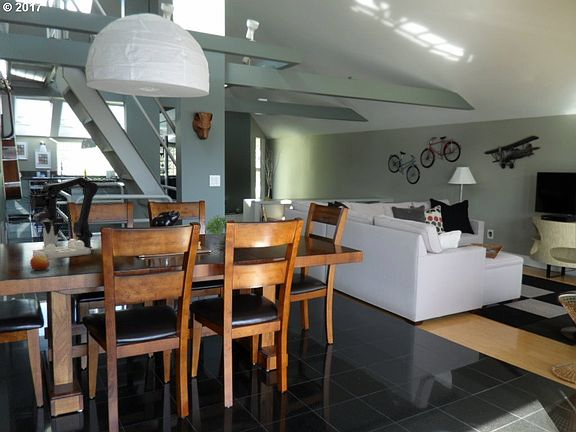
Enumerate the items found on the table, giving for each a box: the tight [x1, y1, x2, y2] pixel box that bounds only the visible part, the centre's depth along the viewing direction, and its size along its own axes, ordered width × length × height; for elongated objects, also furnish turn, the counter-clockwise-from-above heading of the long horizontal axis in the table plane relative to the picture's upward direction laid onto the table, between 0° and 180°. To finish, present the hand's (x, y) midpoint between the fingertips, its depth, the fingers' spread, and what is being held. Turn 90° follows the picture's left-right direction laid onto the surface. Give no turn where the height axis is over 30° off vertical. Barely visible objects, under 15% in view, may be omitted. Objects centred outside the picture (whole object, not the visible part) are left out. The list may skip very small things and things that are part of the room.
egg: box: [44, 243, 57, 253], centre depth 242 cm, size 5×5×7 cm
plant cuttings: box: [204, 214, 227, 244], centre depth 300 cm, size 35×17×22 cm
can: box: [42, 226, 59, 247], centre depth 279 cm, size 8×8×12 cm
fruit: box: [30, 255, 51, 272], centre depth 213 cm, size 8×8×8 cm
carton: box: [32, 238, 92, 260], centre depth 250 cm, size 24×16×8 cm
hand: (51, 234), depth 255 cm, fingers open, 9 cm apart
